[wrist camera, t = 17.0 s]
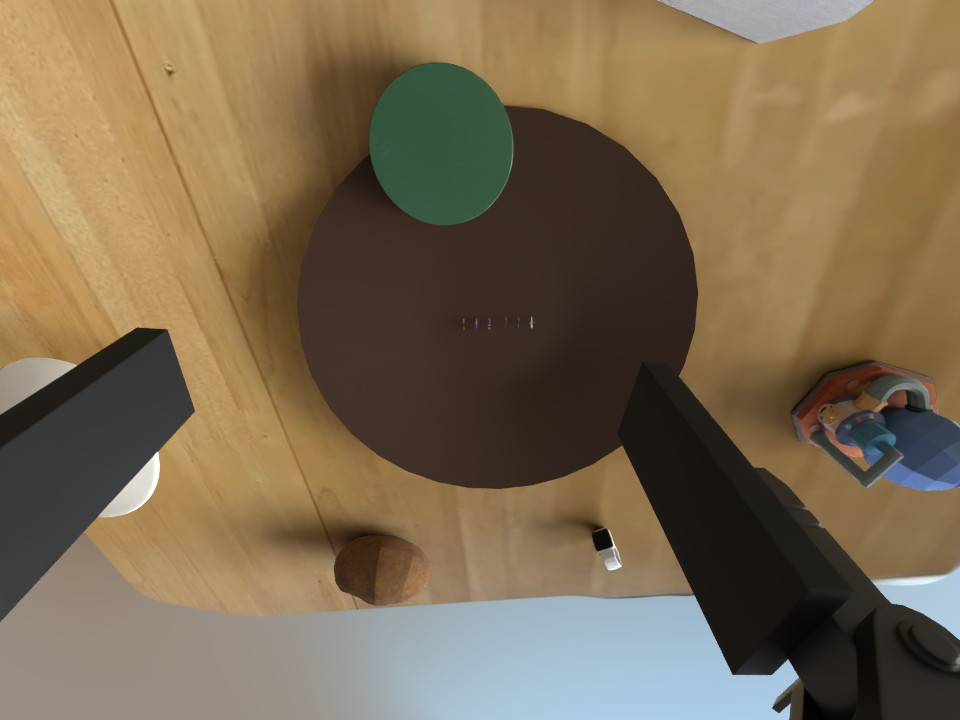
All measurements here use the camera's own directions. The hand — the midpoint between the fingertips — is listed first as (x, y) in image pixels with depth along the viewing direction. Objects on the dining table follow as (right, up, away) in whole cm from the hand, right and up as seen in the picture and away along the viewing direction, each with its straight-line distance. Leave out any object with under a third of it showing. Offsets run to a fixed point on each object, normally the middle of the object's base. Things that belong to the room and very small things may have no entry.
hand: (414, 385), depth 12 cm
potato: (-8, -19, +32) cm, 38 cm away
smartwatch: (+15, -18, +32) cm, 40 cm away
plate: (+3, +4, +19) cm, 20 cm away
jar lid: (0, +13, +11) cm, 17 cm away
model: (+36, -4, +24) cm, 44 cm away
